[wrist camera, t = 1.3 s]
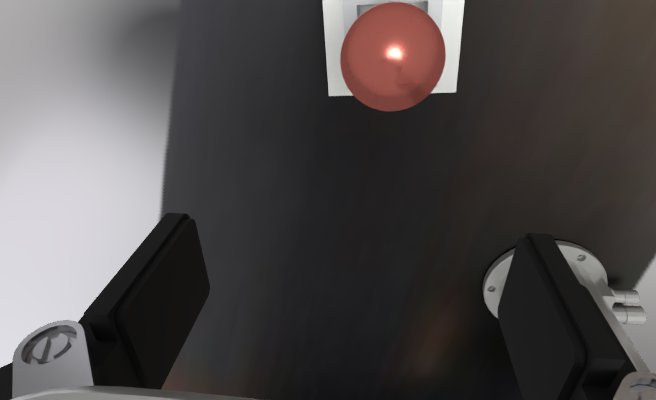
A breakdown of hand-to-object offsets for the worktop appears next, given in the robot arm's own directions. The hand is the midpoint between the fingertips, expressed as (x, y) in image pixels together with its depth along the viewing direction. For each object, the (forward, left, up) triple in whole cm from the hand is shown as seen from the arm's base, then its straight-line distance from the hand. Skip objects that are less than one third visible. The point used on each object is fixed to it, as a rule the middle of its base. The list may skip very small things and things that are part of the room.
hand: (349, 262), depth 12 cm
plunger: (-1, -3, -20) cm, 20 cm away
